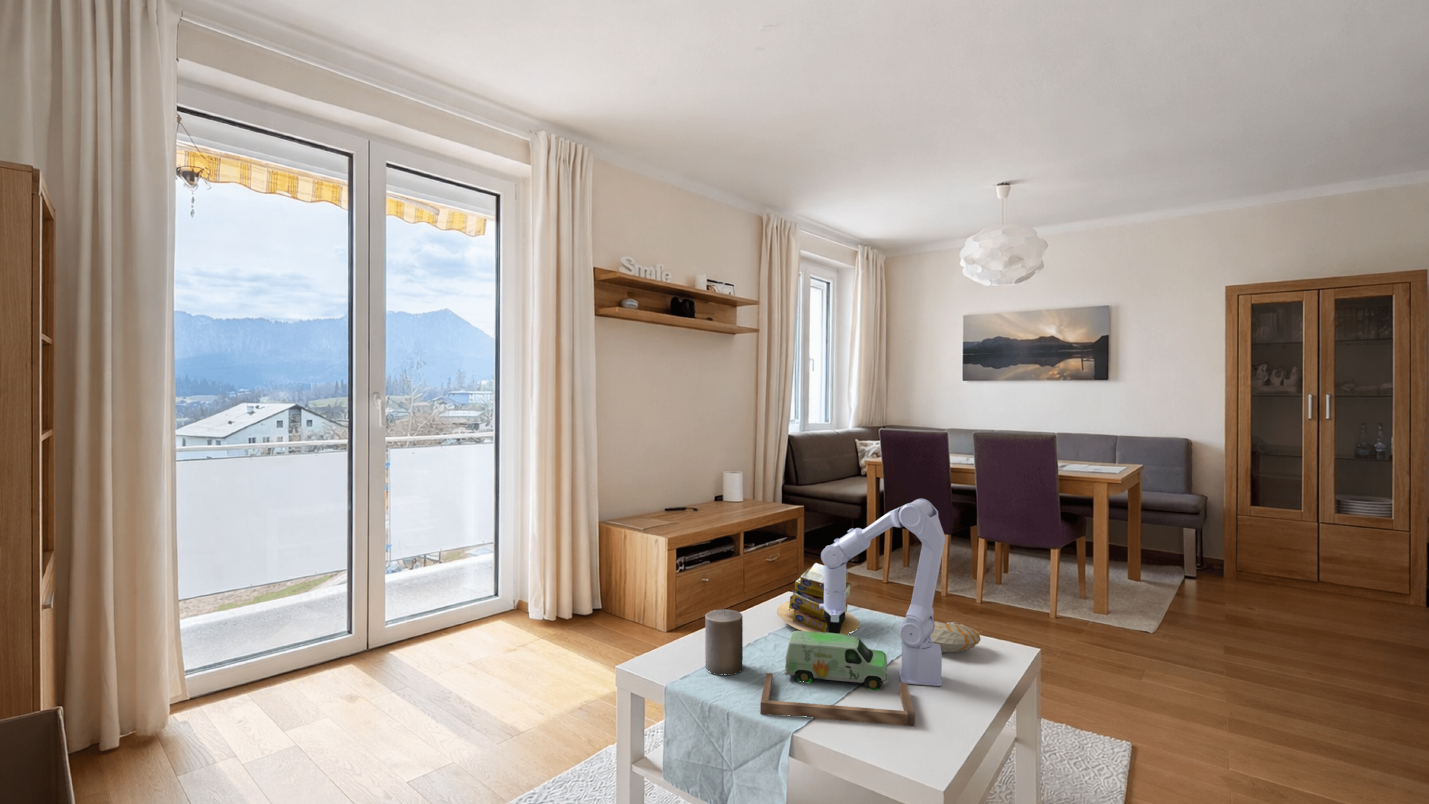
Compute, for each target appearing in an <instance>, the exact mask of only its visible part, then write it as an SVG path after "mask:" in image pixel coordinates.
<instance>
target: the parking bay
mask: <svg viewBox="0 0 1429 804" xmlns="http://www.w3.org/2000/svg"><path fill="white" fill-rule="evenodd" d="M773 674H774V673H772V672H766V674H765V678H764V682H763V688H762V689H763V690H762V694H761V699H760V709H759V710H760V711H759V713H760V715H767V716H768V714H771V715H770V716H780V715H786V716H785V717H788V716H787V715H790V716H789V717H792V716H807V717H813V718H812V719H817V720H819V719H820V720H833V721H842V722H843V721H845V722H857V723H868V724H878V725H879V724H881V725H893V726H905V727H915V725H916V714H915V711H914V705H913V702H912V699H911V695H910V692H909V688H908V685H907V684H906V683H901V682H899V696H900V700H901V704H902V705H901V706H902V708H903V710H901V709H899V710H898V709H886V708H885V709H883V708H871V707H860V706H859V707H858V706H847V705H833V704H821V703H820V704H819V703H810V702H809V703H808V702H797V701H795V702H794V701H783V700H782V701H781V700H770V699H771V695H772V688H773V681H774V680H773Z"/></svg>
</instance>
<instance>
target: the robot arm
mask: <svg viewBox="0 0 1429 804" xmlns="http://www.w3.org/2000/svg"><path fill="white" fill-rule="evenodd" d="M893 527H895V528H902V527H905V528H906V529H907V530H908V531H909V532H911V533H912V534H914V535H915V537H916V538H917V539H918V540H919V541H920V542H921V549H920V554H919V560H918V565H917V569H916V575H915V581H914V585H913V591H912V595H911V596H912V597H911V601H910V605H909V606H908V607H909V608H908V609H907V611H906V614H905V618H904V620H903V622H902V623H901V624H900V626H899V629H898V635H899V638H900V640H901V668H898V669H897V671H898V675H899V678H900V683H906V684H908V685H918V686H919V685H921V686H932V687H933V686H934V687H942V685H943V684H942V671H943V670H942V665H943V664H942V663H943V662H942V661H943V659H942V658H943V657H942V652H941V647H940V645H939V644H935V643H932V640H931V637H930V634H932V633H933V631H934V628H935V623H934V622H935V620H934V614H935V613H934V612H935V610H934V609H933V603H934V599H935V594H936V588H937V585H938V578H939V572H940V569H941V564H942V558H943V553H944V548H945V543H946V536H945V533H944V530H943V527H942V525H941V521H940V518H939V510H937V508H936V507H935V506H934V505H933V504H932V503H931V502H930V501H929V500H927V499H925V498H918V499H915V500H913V501H912V502H909V503H906V504H904V505H901V506H899V507H897V508H895V509H893V510H890V511H888V512H887V513H885V514H884V515H883V516H881V517H879V518H878V519H877V520H875V521H874V522H872V523H871V524H870V525H868V526H867V527H865V528H863V529H862V528H860V527H856V528H850V529H849V530H847V533H846V534H845V535H843V536H842V537H840V538H838V537H837V538H835V539H834V540H833V543H832V544H830V545H826V546H825V548H823V549H822V551H821V553H820V559H821V561H822V563H823V565H824V604H819V608H821V609H824V610H825V611H824V619H825V621H826V623H827V626H828V632H829V633H836V634H840V630H841V626H842V624H843V622H844V620H845V612H844V611H845V610H846V604H847V603H846V602H847V601H846V600H847V598H846V569H847V562H849V561H850V560H851V559H852V558H854V557H855V556H856V557H857V556H858V555H859V554H861V553H862V552H864V551H866V550H867V549H868V548H870V546H871V541H872V540H873V539H875V538H876V537H878V536H880V535H881V534H883V533H884V532H886V531H888V530H889V529H891V528H893Z"/></svg>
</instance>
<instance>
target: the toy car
mask: <svg viewBox="0 0 1429 804" xmlns="http://www.w3.org/2000/svg"><path fill="white" fill-rule="evenodd" d="M784 667H785V668H784V675H785V676H793V677H794V676H795V675H796V676H795V677H796V681H797V682H798V681H801V682H800V683H805V682H809V683H808V684H812V683H813V682H814V679H815V680H816V679H817V680H829V681H837V682H838V681H839V682H840V681H841V682H848V683H849V682H851V683H859V684H860V683H863V684H864V687H865V689H867V690H868V691H869V690H870V691H880V690H881V689H882V686H883V685H887V683H888V673H887V672H888V668H887V667H888V659H887V654H886V653H885V652H884V651H883V650H878V649H873V648H872V649H871V648H868V646H866V645H865V643H864V642H863V641H862V639H860V637H859V636H857V635H853V634H850V635H844V634H836V633H825V632H810V631H802V630H794V631H792V632H791V635H790V639H789V642H788V646H787V649H786V654H785V666H784ZM803 681H804V682H803ZM882 683H883V684H882Z"/></svg>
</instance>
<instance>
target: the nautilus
mask: <svg viewBox="0 0 1429 804" xmlns="http://www.w3.org/2000/svg"><path fill="white" fill-rule="evenodd" d="M934 623H935V628H934V631H933V633H932V634H930V637H931V640H932V643H935V644H939V645H940V647H941V653H946V654H948V653H953V654H954V653H959V652H963V651H966V650H969V649H971V648H973V647H975V646H976V645H978V644H979V643H980V641H981V635H980V632H979V631H977V630H976V629H975V628H972V627H970V626H966V625H964V624H963V623H958V622H954V621H953V622H952V621H950V622H949V621H948V622H945V621H943V622H942V621H941V622H940V621H938V620H937V621H935V620H934Z"/></svg>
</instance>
